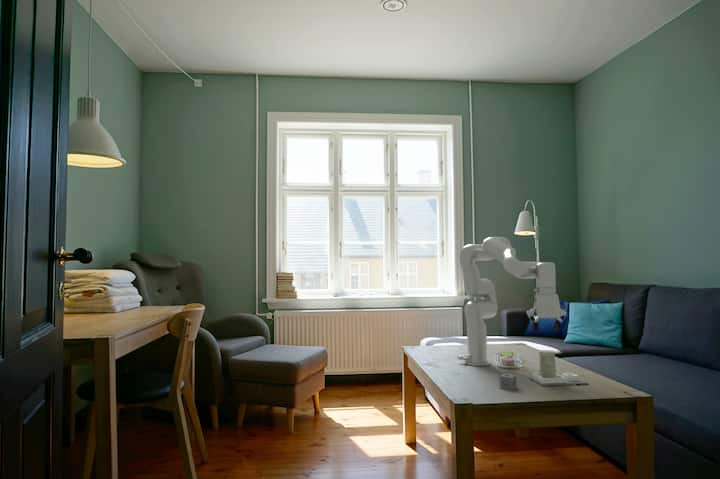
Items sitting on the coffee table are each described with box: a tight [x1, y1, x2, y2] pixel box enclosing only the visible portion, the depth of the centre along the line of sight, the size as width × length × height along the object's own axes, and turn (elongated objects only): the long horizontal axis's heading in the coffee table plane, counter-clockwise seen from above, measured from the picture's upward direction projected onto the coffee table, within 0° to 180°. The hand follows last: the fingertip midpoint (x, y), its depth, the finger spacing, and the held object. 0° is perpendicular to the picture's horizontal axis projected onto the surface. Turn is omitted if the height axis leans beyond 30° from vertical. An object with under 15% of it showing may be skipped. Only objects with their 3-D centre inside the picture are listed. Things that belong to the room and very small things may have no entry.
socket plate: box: [528, 372, 589, 387], centre depth 198 cm, size 20×12×3 cm, turn 95°
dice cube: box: [499, 373, 518, 391], centre depth 190 cm, size 5×5×5 cm
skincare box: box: [538, 349, 557, 378], centre depth 198 cm, size 6×4×12 cm
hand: (546, 331), depth 199 cm, fingers open, 9 cm apart
